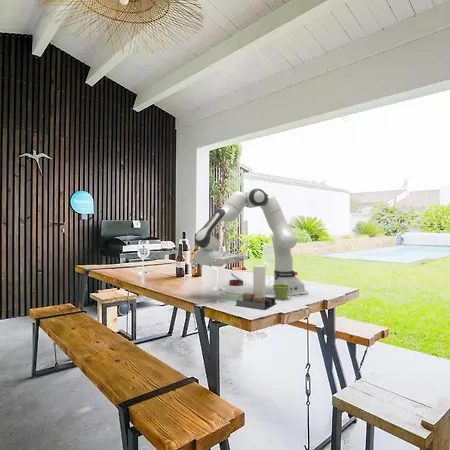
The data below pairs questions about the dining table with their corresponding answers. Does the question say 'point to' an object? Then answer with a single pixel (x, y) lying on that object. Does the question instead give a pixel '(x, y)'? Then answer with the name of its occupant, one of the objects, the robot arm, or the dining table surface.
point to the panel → (259, 281)
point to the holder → (230, 297)
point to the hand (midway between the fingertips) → (239, 260)
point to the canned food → (236, 281)
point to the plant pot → (281, 291)
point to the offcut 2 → (259, 299)
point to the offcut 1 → (248, 297)
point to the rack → (257, 304)
